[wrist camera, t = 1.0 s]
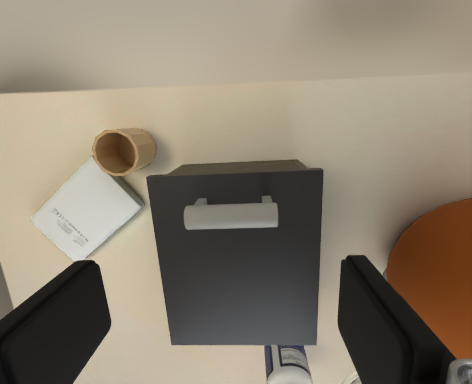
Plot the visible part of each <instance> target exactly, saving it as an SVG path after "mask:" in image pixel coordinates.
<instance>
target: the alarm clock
mask: <svg viewBox="0 0 472 384" xmlns="http://www.w3.org/2000/svg"><path fill="white" fill-rule="evenodd" d="M383 276H384V278H385V279H386V280H387V281H388V283H389V284H390V285H391V286H392V287H393V288H394V289H395V291H396V292H397V293H399V294H400V295H401V296H402V297H403V298H404V299H405V300H406V302H407V303H408V304H409V305H410V306H411V307H412V308H413V310H414V311H415V312H416V313H417V314H418V315H419V316H420V318H421V319H422V320H423V321H424V322H425V323H426V324H427V325H428V327H429V328H430V329H431V330H432V331H433V332H434V333H435V335H436V336H437V337H438V338H439V339H440V340H441V341H442V343H443V344H444V345H445V346H446V347H447V348H448V349H449V350H450V352H451V353H452V354H453V355H454V356H455V357H456V358H457V359H464V358H468V359H472V198H470V199H466V200H462V201H457V202H453V203H449V204H445V205H442V206H440V207H438V208H436V209H434V210H432V211H430V212H428V213H426V214H424V215H422V216H421V217H419V218H418V219H417V220H416V221H415V222H414V223H413V224H412V225H411V226H409V227H408V228H407V229H406V230H404V232H403V233H402V235H401V236H400V238H399V240H398V241H397V243H396V244H395V246H394V248H393V250H392V252H391V254H390V255H389V259H388V263H387V267H386V269H385V271H384V273H383Z"/></svg>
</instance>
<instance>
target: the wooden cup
mask: <svg viewBox="0 0 472 384" xmlns="http://www.w3.org/2000/svg"><path fill="white" fill-rule="evenodd" d="M92 150H93V155H94V160H95V162H96V163H97V164H98V166H99V167H100V168H101V169H102V171H104V172H106V173H108V174H110V175H112V176H126V175H128V174H131V173H133V172H135V171H137V170H140V169H142V168H144V167H146V166H147V165H149V164H150V163H151V162H152V161H153V159H154V158H155V155H156V146H155V142H154V140H153V138H152V137H151V136H150V135H149V134H148V133H147V132H145V131H144V130H141V129H139V128H130V129H113V130H105V131H103V132H102V133H101V134H99V135H98V136H97V137H96V138H95V141H94V144H93V147H92Z"/></svg>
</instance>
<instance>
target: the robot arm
mask: <svg viewBox="0 0 472 384" xmlns="http://www.w3.org/2000/svg"><path fill="white" fill-rule="evenodd" d="M110 327H111V318H110V313H109V308H108V304H107V299H106V294H105V290H104V285H103V280H102V276H101V271H100V267H99V265H98V264H96V263H95V261H93V260H78V261H76V262H74V263H73V264H71V265H70V266H69V267H68V268H66V269H65V270H64V271H63V272H61V273H60V274H59V275H57V276H56V277H55V278H54V279H52V280H51V281H50V282H48V283H47V284H46V285H45V286H43V287H42V288H41V289H40V290H38V291H37V292H36V293H34V294H33V295H32V296H31V297H29V298H28V299H27V300H25V301H24V302H23V303H22V304H20V305H19V306H18V307H17V308H15V309H14V310H13V311H11V312H10V313H9V314H8V315H6V316H5V317H4V318H2V319H1V320H0V384H73V382H74V381H75V380H76V378H77V377H78V375H79V374H80V372H81V371H82V369H83V368H84V366H85V365H86V364H87V362H88V361H89V359H90V358H91V356H92V355H93V353H94V352H95V350H96V349H97V347H98V346H99V345H100V343H101V342H102V340H103V339H104V337H105V336H106V334H107V333H108V331H109V330H110ZM338 327H339V331H340V333H341V336H342V338H343V340H344V343H345V345H346V347H347V350H348V352H349V354H350V357H351V359H352V361H353V364H354V366H355V368H356V371H357V373H358V375H359V378H360V380H361V382H362V384H472V359H468V358H464V359H457V358H456V357H455V356H454V355H453V354H452V353H451V352H450V350H449V349H448V348H447V347H446V346H445V345H444V344H443V343H442V341H441V340H440V339H439V338H438V337H437V336H436V335H435V333H434V332H433V331H432V330H431V329H430V328H429V327H428V325H427V324H426V323H425V322H424V321H423V320H422V319H421V318H420V316H419V315H418V314H417V313H416V312H415V311H414V310H413V308H412V307H411V306H410V305H409V304H408V303H407V302H406V300H405V299H404V298H403V297H402V296H401V295H400V294H399V293H397V292H396V291H395V289H394V288H393V287H392V286H391V285H390V284H389V283H388V281H387V280H386V279H385V278H384V277H383V276H382V275H381V273H380V272H379V271H378V270H377V269H376V268H375V267H374V265H373V264H372V263H371V262H370V261H369V260H368V258H367V257H366V256H364V255H348V256H347V257H346V259H344V260H342V261H341V274H340V290H339V306H338Z"/></svg>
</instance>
